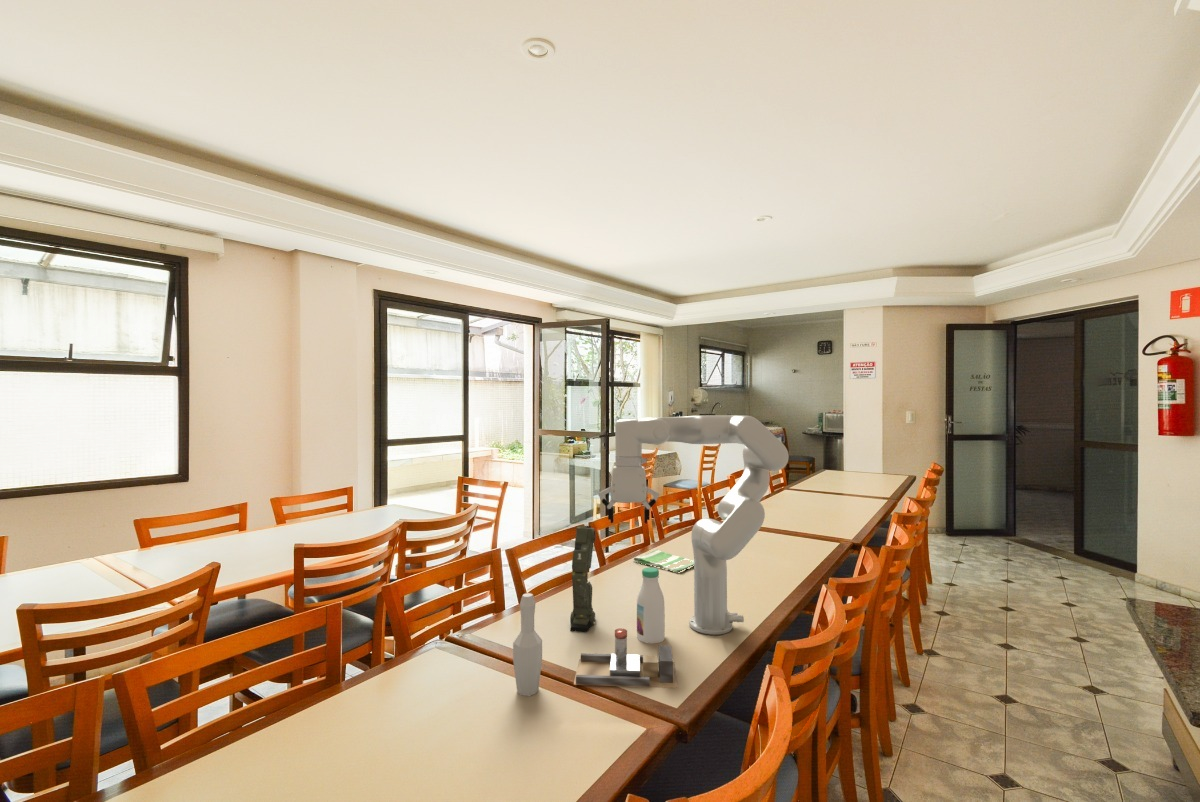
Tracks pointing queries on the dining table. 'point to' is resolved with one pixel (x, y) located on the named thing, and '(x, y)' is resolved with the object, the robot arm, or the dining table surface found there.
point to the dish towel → (659, 556)
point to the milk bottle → (650, 608)
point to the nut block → (650, 666)
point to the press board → (598, 673)
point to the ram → (624, 657)
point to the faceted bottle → (527, 650)
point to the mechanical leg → (582, 580)
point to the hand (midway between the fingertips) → (628, 522)
